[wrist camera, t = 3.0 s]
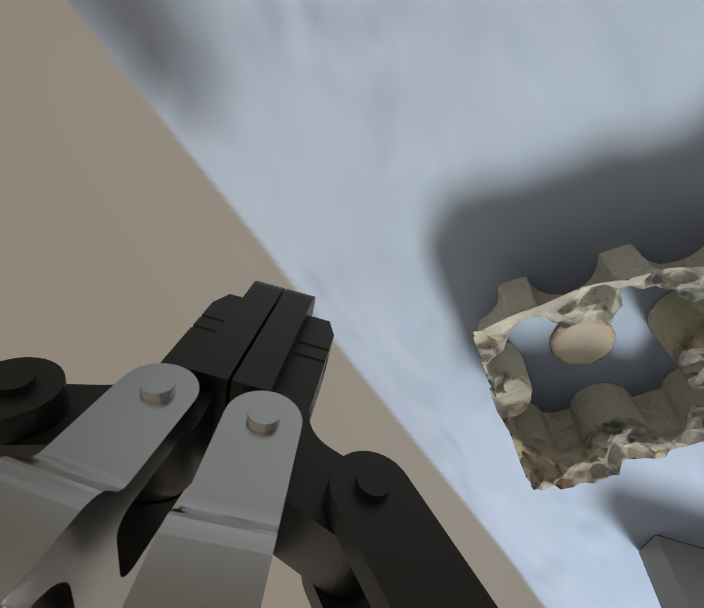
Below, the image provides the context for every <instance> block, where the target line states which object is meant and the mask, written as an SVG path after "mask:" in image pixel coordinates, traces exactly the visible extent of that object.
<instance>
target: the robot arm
mask: <svg viewBox="0 0 704 608" xmlns="http://www.w3.org/2000/svg"><path fill="white" fill-rule="evenodd" d="M314 303H315V297H314V296H311V295H307V294H303V293H300V292H296V291H292V290H289V289H286V290H285V289H284V288H281V287H277V286H274V285H270V284H266V283H263V282H259V281H255V282H254V284H253V285H252V286H251V287H250V289H249V290H248V291H247V293H246V294H245V295H244V297H243V298H242V297H239V296H235V295H231V294H229V295H227V296H225V297H223V298H221V299H218V300H216V301H214V302H213V303H212V304H211V305H210V306H209V307H208V308H207V309H206V311H205V312H204V313H203V314H202V317H200V318H199V319H198V320H197V321H196V322H195V323H194V325H193V327H191V328H190V329H189V330H188V331H187V333H186V334H185V335H184V336H183V337H182V339H180V341H179V342H178V343H177V344H176V345H175V347H174V348H173V349H172V350H171V351H170V352H169V353H168V355H167V356H166V357H165V358H164V359H163V360H162V362H161V363H157V364H149V365H145V366H141V367H138V368H136V369H134V370H132V371H130V372H128V373H127V374H125V375H124V376H123V377H122V378H121V379H120V380H118V381H117V382H116V383H115V384H114V385H82V384H66V378H65V373H64V371H63V370H62V368H61V367H60V366H59V365H57V364H56V363H54V362H52V361H49V360H47V359H42V358H33V357H22V358H13V359H8V360H4V361H0V608H261V603H262V599H263V594H264V590H265V586H266V582H267V578H268V573H269V569H270V564H271V559H272V556H273V555H275V556H276V557H277V558H279V559H280V560H281V561H283V562H284V563H285V564H287V565H288V566H289V567H291V568H292V569H294V570H295V571H296V572H298V573H299V574H300V575H301V577H302V584H303V587H304V590H305V593H306V595H307V597H308V600H309V602H310V605H311V607H312V608H498V607H497V605H496V604H495V603H494V601H493V600H492V598H491V597H490V595H489V594H488V592H487V591H486V589H485V588H484V587H483V585H482V584H481V582H480V581H479V579H478V578H477V576H476V575H475V574H474V572H473V571H472V569H471V568H470V566H469V565H468V563H467V562H466V561H465V559H464V558H463V556H462V555H461V553H460V552H459V550H458V549H457V547H456V546H455V545H454V543H453V542H452V540H451V539H450V537H449V536H448V534H447V533H446V532H445V530H444V529H443V527H442V526H441V524H440V523H439V521H438V520H437V519H436V517H435V516H434V514H433V513H432V511H431V510H430V508H429V507H428V505H427V504H426V503H425V501H424V500H423V498H422V497H421V495H420V494H419V492H418V491H417V490H416V488H415V487H414V485H413V484H412V482H411V481H410V479H409V478H408V476H407V475H406V474H405V472H404V471H403V470H402V469H401V468H400V467H399V466H398V465H397V464H396V463H395V462H394V461H392V460H391V459H389V458H387V457H386V456H384V455H381V454H378V453H375V452H371V451H357V452H352V453H349V454H347V455H345V456H342V455H341V454H339V453H338V452H336V451H334V450H333V449H331V448H330V447H328V446H327V445H325V444H324V443H323V442H322V441H321V440H320V439H319V438H318V437H317V436H316V434H315V433H314V431H313V429H312V427H311V424H310V419H311V416H312V413H313V409H314V406H315V403H316V400H317V397H318V394H319V390H320V387H321V384H322V381H323V377H324V373H325V369H326V365H327V361H328V357H329V353H330V349H331V345H332V341H333V337H334V334H333V331H332V328H331V324H330V321H326V320H323V319H319V318H315V317H312V313H313V308H314Z"/></svg>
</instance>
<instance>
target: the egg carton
mask: <svg viewBox="0 0 704 608" xmlns="http://www.w3.org/2000/svg"><path fill="white" fill-rule="evenodd" d="M655 275H657V276H660V277H661V278H662V279H663V282H662V283H657V284H654V282H653V281H652V280H651V279H652V278H653V277H654V276H655ZM655 285H656V286H658V287H660V288H662V289H664V290H670V289H673V291H672V292H670V293H668V294H666V295H665V296H664V297H662V298H661V299H660V300H659V301H658V302H657V303H656V304H655V305H654V307H653V308H652V309H651V310H650V312H649V315H648V325H649V328H650V330H651V331H652V333H653V334H654V336H655V337H656V339H657V340H658V341H659V343H660V344H661V345H662V347H663V348H664V349H665V351H666V352H667V353H668V354H669V356H670V357H671V358H672V360H673V361H674V362H675V364H676V366H677V367H678V368H676V369H674V370H673V371H671V372H670V373H669V374H668V375H667V376H666V378H665V379H664V380H663V383H662V385H661V388H659V389H654V390H651V391H648V392H646V393H643V394H640V395H636V396H631V395H630V394H629V392H628V391H627V390H626V389H624V388H623V387H621V386H618V385H615V384H611V383H595V384H592V385H589V386H587V387H585V388H583V389H581V390H579V391H578V392H577V393H575V394H574V396H573V398H572V400H571V402H570V406H569V408H568V409H565V410H561V411H557V412H551V413H546V412H542V411H541V410H540V409H539V408H538V407H537V406H535V405H533V404H531V403H529V402H530V400H531V394H532V386H531V383H530V380H529V376H528V373H527V369H526V366H525V363H524V360H523V357H522V355H521V353H520V352H519V350H518V349H517V348H516V347H515V346H514V345H512V344H510V343H509V342H506V340H507V337H508V334H509V331H510V330H511V328H512V327H513V326H514V325H515V324H516V323H518V322H519V321H520V320H522V319H523V318H528V317H543V316H546V317H547V318H548V319H549V320H551V321H552V322H554V323H557V324H559V325H560V326H559V327H558V328H557V329H556V330H555V332H554V333H553V335H552V336H551V339H550V348H551V350H552V352H553V354H554V355H555V356H556V357H558V359H560V360H561V361H563V362H564V363H568V364H573V365H580V364H589V363H592V362H596V361H597V360H599V359H601V358H602V357H604V356H605V355H606V354H607V353H609V351H610V350H611V349H612V347H613V345H614V342H615V332H614V330H613V328H612V326H611V325H610V323H611V322H612V320H613V317H614V315H615V314H616V312H617V311H618V310H619V309H620V308H621V307H622V299H621V290H620V288H622V287H627V286H634V287H636V288H639V289H645V288H648V287H652V286H655ZM498 293H499V297H498V301H497V304H496V306H495V308H494V309H493V310H492V311H491V312H490V313H489V314H487V315H486V316H484V317H483V318H481V319H480V321H479V323H478V330H479V331H474V332H473V338H474V341H475V344H476V346H477V349H478V351H479V354H480V356H481V358H482V364H483V367H484V370H485V373H486V376H487V378H488V381H489V383H490V385H491V387H492V388H489V389H490V390H491V395H492V398H493V401H494V404H495V407H496V410H497V412H498V414H499V415H500V417H501V418H502V420H503V422H504V423H505V425H506V427H507V429H508V430H509V432H510V434H511V437H512V439H513V442H514V446H515V449H516V451H517V454H518V457H519V460H520V463H521V465H522V467H523V470H524V473H525V475H526V478H527V479H528V480H529V481H530V482H531V486H532V488H533V490H535V489H540V490H544V489H546V488H548V487H550V486H551V485H555V486H557V487H558V488H560V489H565V488H570V487H574V486H575V485H577V484H579V483H596V482H597V481H599V480H601V479H605V478H607V477H609V476H611V475H619V474H620V468H621V463H622V461H624V460H627V459H639V458H653V459H656V458H661V457H665V456H666V455H667V453H668V452H669V451H670V449H675V448H680V447H684V446H689V445H692V444H695V443H698V442H701V441H704V246H703V247H702V248H700V249H699V250H698V251H697V252H696V253H694V254H693V255H691V256H690V257H687V258H685V259H683V260H679V261H675V262H671V263H663V264H659V263H653V262H650V261H648V260H646V259H645V258H644V257H643V256H642V255H641V253H640V252H639V251H638V250H637V249H636V248H635V247H634V246H633V245H632V244H627V245H624V246H620V247H617V248H614V249H610V250H607V251H604V252H602V253H600V254H599V257H598V261H597V265H596V270H595V272H594V273H593V275H592V277H591V278H590V279H589V280H588V281H587V282H586V283H585V284H584V285H583V286H581V287H579V288H578V289H576V290H574V291H572V292H569V293H566V294H547V293H543V292H541V291H539V290H537V289H536V288H534V287H533V286H532V285H531V284H530V282H529V281H528V279H527V277H522V278H517V279H513V280H510V281H507V282H505V283H502V284H500V285H499V286H498Z"/></svg>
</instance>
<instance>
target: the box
mask: <svg viewBox="0 0 704 608" xmlns="http://www.w3.org/2000/svg"><path fill="white" fill-rule="evenodd" d="M639 554H640V556H641V559H642V561H643V564H644V566H645V568H646V571H647V573H648V576H649V578H650V581H651V583H652V586H653V588H654V591H655V593H656V595H657V598H658V600H659V603H660V605H661V608H704V549H702V548H698V547H695V546H692V545H688V544H685V543H681V542H678V541H675V540H671V539H668V538H664V537H661V536H658V535H656V536H655V537H654V538H652V539H651V540H650V541H649V542H648V543H647V544H646V545H645V546H644V547H642V548H641V549H640V550H639Z"/></svg>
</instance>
